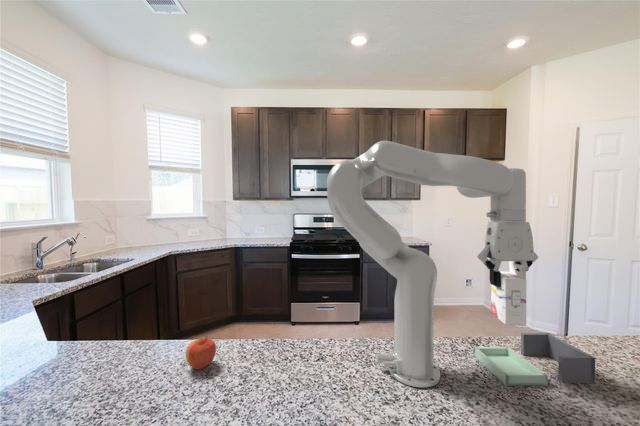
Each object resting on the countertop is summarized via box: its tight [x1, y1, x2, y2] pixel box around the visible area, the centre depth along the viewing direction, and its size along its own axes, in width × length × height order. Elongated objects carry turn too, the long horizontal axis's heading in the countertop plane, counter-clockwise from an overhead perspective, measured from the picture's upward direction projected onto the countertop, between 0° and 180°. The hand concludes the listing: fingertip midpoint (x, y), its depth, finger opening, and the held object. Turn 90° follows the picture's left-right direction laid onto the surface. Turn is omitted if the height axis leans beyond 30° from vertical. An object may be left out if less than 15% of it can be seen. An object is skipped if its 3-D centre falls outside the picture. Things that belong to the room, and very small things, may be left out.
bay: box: [520, 332, 596, 384], centre depth 70 cm, size 8×13×6 cm, turn 0°
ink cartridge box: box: [490, 261, 527, 327], centre depth 69 cm, size 9×5×15 cm, turn 169°
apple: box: [185, 335, 217, 371], centre depth 70 cm, size 7×7×8 cm
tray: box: [472, 346, 548, 387], centre depth 69 cm, size 10×13×2 cm
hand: (507, 284), depth 69 cm, fingers closed on ink cartridge box, 5 cm apart
